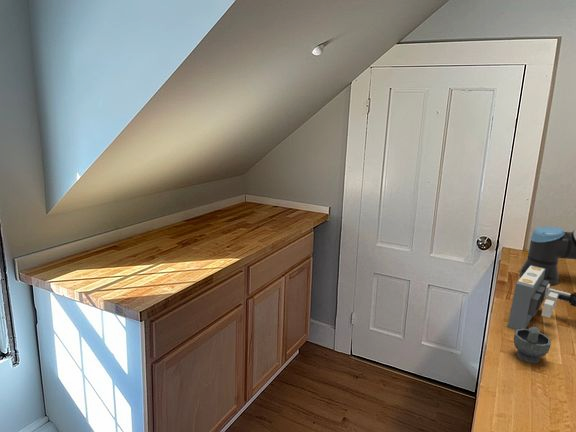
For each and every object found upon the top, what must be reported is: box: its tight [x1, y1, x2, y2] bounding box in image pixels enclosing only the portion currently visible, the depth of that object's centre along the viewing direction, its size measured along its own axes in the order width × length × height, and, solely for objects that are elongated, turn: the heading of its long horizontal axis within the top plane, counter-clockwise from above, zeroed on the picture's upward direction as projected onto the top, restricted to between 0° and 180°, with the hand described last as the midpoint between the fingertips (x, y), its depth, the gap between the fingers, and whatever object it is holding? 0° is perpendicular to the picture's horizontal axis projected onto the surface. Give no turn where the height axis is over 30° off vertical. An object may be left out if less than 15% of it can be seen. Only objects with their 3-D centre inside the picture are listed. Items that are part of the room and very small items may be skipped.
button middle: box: [547, 292, 558, 310], centre depth 149 cm, size 4×2×4 cm, turn 141°
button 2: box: [544, 284, 551, 300], centre depth 158 cm, size 4×2×4 cm, turn 141°
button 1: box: [541, 298, 555, 319], centre depth 143 cm, size 4×2×4 cm, turn 141°
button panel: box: [507, 265, 549, 330], centre depth 153 cm, size 24×7×16 cm, turn 141°
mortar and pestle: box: [513, 326, 552, 364], centre depth 128 cm, size 11×9×12 cm
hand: (548, 292), depth 157 cm, fingers closed
